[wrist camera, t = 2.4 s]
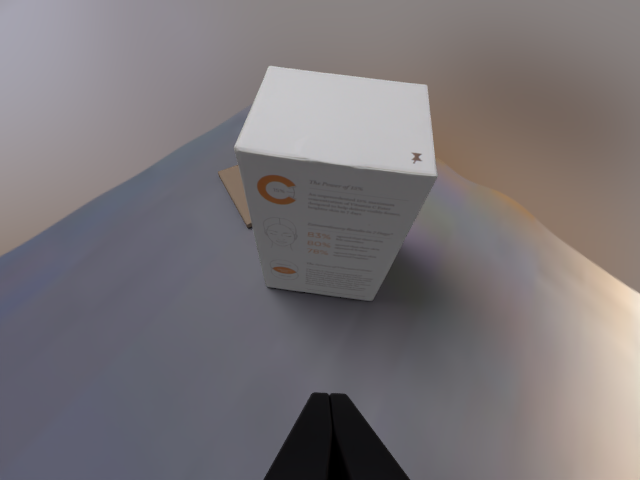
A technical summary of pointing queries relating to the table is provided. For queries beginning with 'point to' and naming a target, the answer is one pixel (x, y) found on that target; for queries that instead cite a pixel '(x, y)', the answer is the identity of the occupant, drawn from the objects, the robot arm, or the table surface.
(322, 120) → the small box
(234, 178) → the cork mat
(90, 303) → the table surface
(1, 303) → the table surface
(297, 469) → the robot arm
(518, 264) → the table surface
